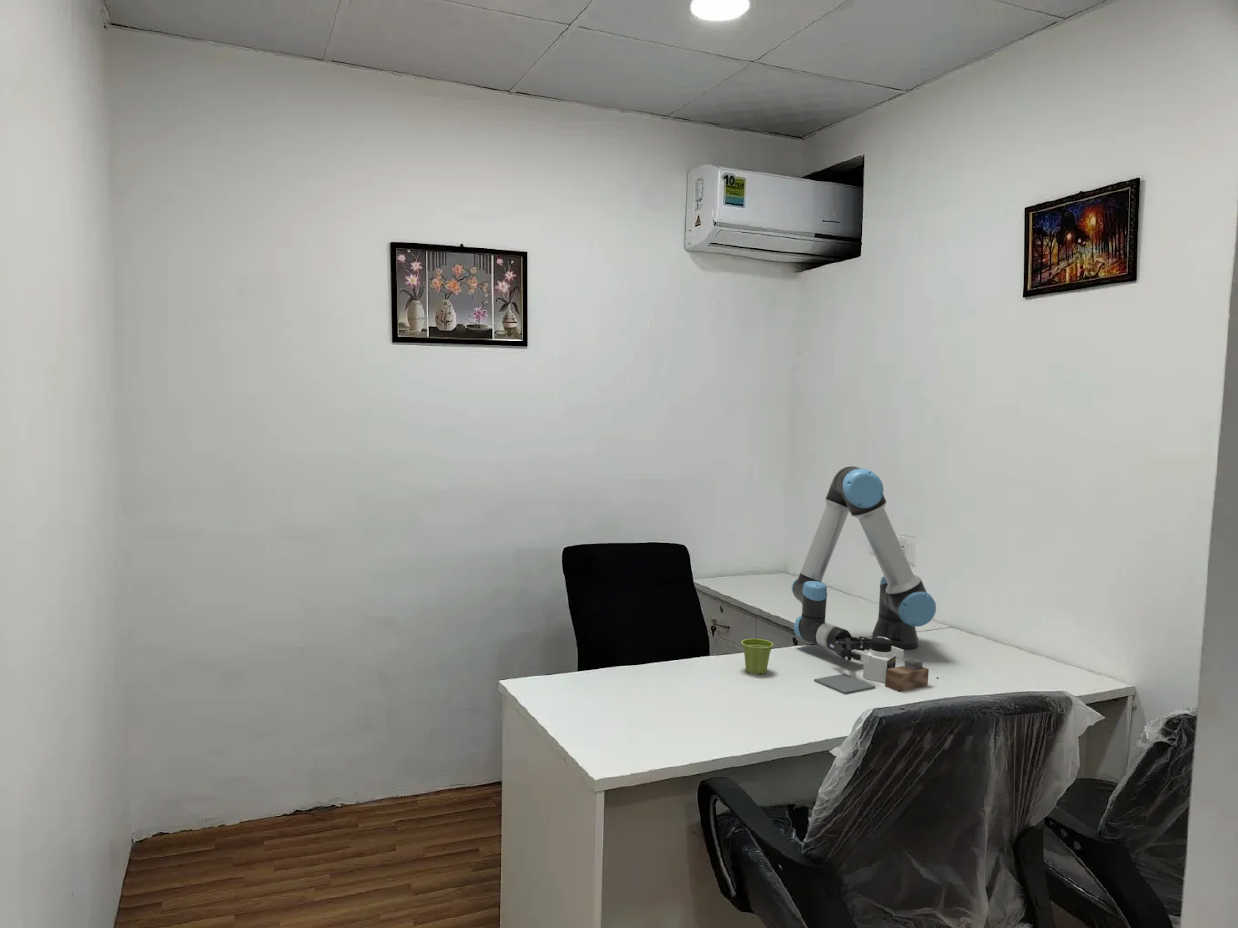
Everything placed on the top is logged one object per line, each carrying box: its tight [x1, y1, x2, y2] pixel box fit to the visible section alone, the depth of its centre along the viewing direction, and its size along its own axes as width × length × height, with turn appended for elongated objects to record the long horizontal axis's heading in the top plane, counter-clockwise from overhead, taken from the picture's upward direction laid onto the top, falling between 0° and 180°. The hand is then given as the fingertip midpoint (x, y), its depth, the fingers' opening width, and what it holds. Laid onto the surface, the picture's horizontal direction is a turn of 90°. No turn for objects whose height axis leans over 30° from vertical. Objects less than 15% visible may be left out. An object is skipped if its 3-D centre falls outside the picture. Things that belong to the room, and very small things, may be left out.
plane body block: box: [884, 658, 930, 693], centre depth 241 cm, size 12×5×7 cm, turn 120°
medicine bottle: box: [862, 637, 897, 684], centre depth 247 cm, size 7×7×12 cm
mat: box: [813, 673, 876, 695], centre depth 241 cm, size 12×12×1 cm
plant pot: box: [741, 638, 774, 675], centre depth 249 cm, size 9×9×9 cm
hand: (887, 657), depth 245 cm, fingers open, 13 cm apart
